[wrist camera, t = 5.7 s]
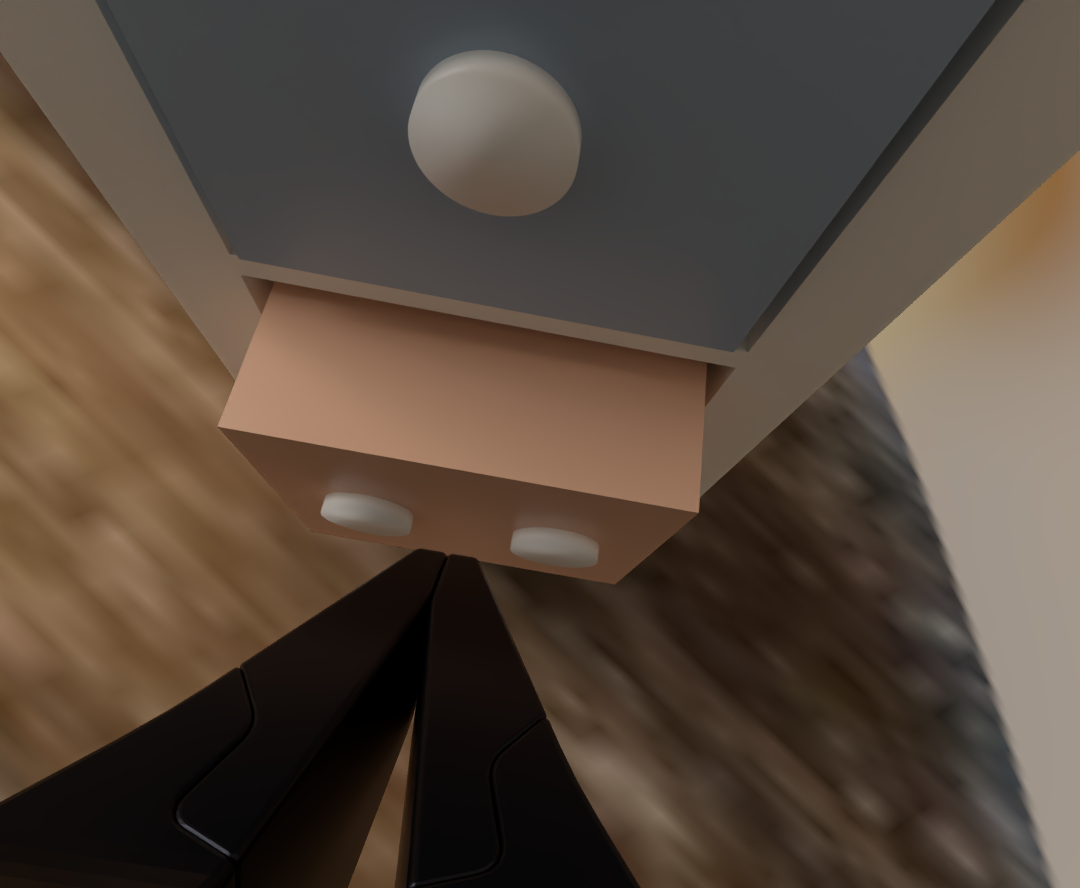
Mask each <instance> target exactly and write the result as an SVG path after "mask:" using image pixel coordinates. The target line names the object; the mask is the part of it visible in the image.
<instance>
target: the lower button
mask: <svg viewBox="0 0 1080 888" xmlns="http://www.w3.org/2000/svg"><path fill="white" fill-rule="evenodd" d="M706 374H707V362H702V361H697V360H692V359H686V358H681V357H676V356H670V355H665V354H660V353H654V352H649V351H644V350H638V349H633V348H628V347H623V346H617V345H612V344H607V343H601V342H596V341H591V340H585V339H580V338H575V337H569V336H564V335H559V334H553V333H548V332H543V331H537V330H532V329H527V328H521V327H516V326H511V325H505V324H500V323H495V322H490V321H484V320H479V319H474V318H468V317H463V316H458V315H452V314H447V313H442V312H436V311H431V310H426V309H420V308H415V307H410V306H404V305H399V304H394V303H388V302H383V301H378V300H372V299H367V298H362V297H356V296H351V295H346V294H341V293H335V292H330V291H325V290H319V289H314V288H309V287H303V286H298V285H293V284H287V283H282V282H277V281H275V282H274V284H273V287H272V289H271V292H270V295H269V297H268V300H267V302H266V305H265V307H264V310H263V312H262V315H261V317H260V320H259V323H258V325H257V328H256V330H255V333H254V335H253V338H252V340H251V343H250V345H249V348H248V351H247V353H246V356H245V358H244V361H243V363H242V366H241V368H240V371H239V374H238V376H237V379H236V381H235V384H234V386H233V389H232V391H231V394H230V396H229V399H228V402H227V404H226V407H225V409H224V412H223V414H222V417H221V419H220V422H219V424H218V428H219V429H220V430H221V431H222V432H223V433H224V434H225V435H226V437H227V438H228V439H229V440H230V441H231V442H232V443H233V444H234V445H235V447H236V448H237V449H238V450H239V451H240V452H241V453H242V454H243V455H244V457H245V458H246V459H247V460H248V461H249V462H250V463H251V464H252V466H253V467H254V468H255V469H256V470H257V471H258V472H259V473H260V474H261V476H262V477H263V478H264V479H265V480H266V481H267V482H268V483H269V484H270V486H271V487H272V488H273V489H274V490H275V491H276V492H277V493H278V494H279V496H280V497H281V498H282V499H283V500H284V501H285V502H286V503H287V505H288V506H289V507H290V508H291V509H292V510H293V511H294V512H295V513H296V515H297V516H298V517H299V518H300V519H301V520H302V521H303V522H304V523H305V525H306V526H307V527H308V528H309V529H310V530H311V531H312V532H316V533H322V534H328V535H334V536H339V537H345V538H351V539H357V540H362V541H368V542H374V543H379V544H385V545H391V546H397V547H402V548H408V549H414V550H416V549H418V548H423V549H429V550H434V551H440V552H444V553H445V554H446V555H448V556H449V555H450V554H457V555H463V556H469V557H474V558H476V559H478V561H483V562H488V563H494V564H500V565H506V566H511V567H517V568H523V569H528V570H534V571H540V572H546V573H551V574H557V575H563V576H569V577H574V578H580V579H586V580H591V581H597V582H603V583H609V584H614V585H615V584H616V583H617V582H618V581H619V580H621V579H622V578H623V577H624V576H625V575H627V574H628V573H629V572H630V571H631V570H632V569H634V568H635V567H636V566H637V565H638V564H639V563H641V562H642V561H643V560H644V559H645V558H647V557H648V556H649V555H650V554H651V553H652V552H654V551H655V550H656V549H657V548H658V547H659V546H661V545H662V544H663V543H664V542H665V541H667V540H668V539H669V538H670V537H671V536H672V535H674V534H675V533H676V532H677V531H678V530H679V529H681V528H682V527H683V526H684V525H685V524H687V523H688V522H689V521H690V520H691V519H692V518H694V517H695V516H696V515H697V514H698V513H699V502H700V483H701V465H702V447H703V428H704V410H705V392H706Z"/></svg>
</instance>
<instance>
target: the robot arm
mask: <svg viewBox="0 0 1080 888" xmlns="http://www.w3.org/2000/svg"><path fill="white" fill-rule="evenodd" d="M415 708H416V710H415ZM414 711H415V717H414V724H413V732H412V740H411V749H410V758H409V766H408V775H407V784H406V793H405V802H404V811H403V819H402V828H401V837H400V846H399V855H398V864H397V872H396V881H395V888H640V886H639V884H638V883H637V881H636V879H635V878H634V876H633V874H632V873H631V871H630V869H629V868H628V866H627V865H626V863H625V861H624V860H623V858H622V856H621V855H620V853H619V851H618V850H617V848H616V846H615V845H614V843H613V841H612V840H611V838H610V837H609V835H608V833H607V832H606V830H605V828H604V827H603V825H602V823H601V822H600V820H599V818H598V817H597V815H596V813H595V811H594V810H593V808H592V806H591V804H590V803H589V801H588V799H587V797H586V796H585V794H584V792H583V790H582V789H581V787H580V785H579V783H578V782H577V780H576V778H575V776H574V774H573V771H572V769H571V767H570V765H569V763H568V761H567V759H566V757H565V755H564V753H563V751H562V749H561V747H560V745H559V742H558V740H557V738H556V736H555V733H554V731H553V729H552V726H551V724H550V722H549V720H548V719H546V713H545V711H544V709H543V706H542V704H541V702H540V700H539V697H538V695H537V693H536V691H535V688H534V686H533V684H532V681H531V679H530V677H529V675H528V672H527V670H526V668H525V665H524V663H523V661H522V659H521V656H520V654H519V652H518V650H517V647H516V645H515V643H514V640H513V638H512V636H511V634H510V631H509V629H508V627H507V624H506V622H505V620H504V618H503V615H502V613H501V611H500V608H499V606H498V604H497V602H496V599H495V597H494V595H493V593H492V590H491V588H490V586H489V583H488V581H487V579H486V577H485V574H484V572H483V570H482V567H481V565H480V563H479V561H478V559H476V558H474V557H469V556H463V555H457V554H450V555H449V556H448V557H447V556H446V554H445V553H444V552H440V551H434V550H429V549H423V548H418V549H416V550H414V551H413V552H411V553H410V554H408V555H407V556H405V557H404V558H402V559H401V560H399V561H398V562H396V563H394V564H393V565H391V566H390V567H388V568H387V569H385V570H384V571H382V572H381V573H379V574H378V575H376V576H375V577H373V578H372V579H370V580H369V581H367V582H366V583H364V584H362V585H361V586H359V587H358V588H356V589H355V590H353V591H352V592H350V593H349V594H347V595H346V596H344V597H343V598H341V599H340V600H338V601H337V602H335V603H334V604H332V605H330V606H329V607H327V608H326V609H324V610H323V611H321V612H320V613H318V614H317V615H315V616H314V617H312V618H311V619H309V620H308V621H306V622H305V623H303V624H302V625H300V626H298V627H297V628H295V629H294V630H292V631H291V632H289V633H288V634H286V635H285V636H283V637H282V638H280V639H279V640H277V641H276V642H274V643H273V644H271V645H270V646H268V647H266V648H265V649H263V650H262V651H260V652H259V653H257V654H256V655H254V656H253V657H251V658H250V659H248V660H247V661H245V662H244V663H242V664H241V666H240V668H234V669H232V670H231V671H229V672H228V673H226V674H225V675H223V676H222V677H220V678H219V679H217V680H216V681H214V682H213V683H211V684H210V685H208V686H206V687H205V688H203V689H202V690H200V691H198V692H197V693H195V694H194V695H192V696H190V697H189V698H187V699H185V700H184V701H182V702H181V703H179V704H177V705H176V706H174V707H173V708H171V709H169V710H168V711H166V712H164V713H163V714H161V715H159V716H157V717H155V718H154V719H152V720H150V721H148V722H147V723H145V724H143V725H141V726H139V727H138V728H136V729H134V730H132V731H131V732H129V733H127V734H125V735H123V736H122V737H120V738H118V739H116V740H115V741H113V742H111V743H109V744H107V745H105V746H104V747H102V748H100V749H98V750H96V751H94V752H92V753H91V754H89V755H87V756H85V757H83V758H81V759H79V760H77V761H76V762H74V763H72V764H70V765H68V766H66V767H64V768H63V769H61V770H59V771H57V772H55V773H53V774H51V775H50V776H48V777H46V778H44V779H42V780H40V781H38V782H37V783H35V784H33V785H31V786H29V787H27V788H25V789H24V790H22V791H20V792H18V793H16V794H14V795H12V796H11V797H9V798H7V799H5V800H3V801H1V802H0V888H348V886H349V883H350V880H351V878H352V875H353V873H354V870H355V867H356V865H357V862H358V860H359V857H360V854H361V852H362V849H363V846H364V844H365V841H366V839H367V836H368V833H369V831H370V828H371V826H372V823H373V820H374V818H375V815H376V813H377V810H378V807H379V805H380V802H381V800H382V797H383V794H384V792H385V789H386V787H387V784H388V781H389V779H390V776H391V774H392V771H393V768H394V766H395V763H396V761H397V758H398V755H399V753H400V750H401V748H402V745H403V742H404V740H405V737H406V735H407V732H408V729H409V726H410V723H411V720H412V718H413V715H414Z"/></svg>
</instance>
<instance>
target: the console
mask: <svg viewBox="0 0 1080 888" xmlns="http://www.w3.org/2000/svg"><path fill="white" fill-rule="evenodd" d="M0 52H1V54H2V55H3V57H4V58H5V59H6V61H7V62H8V64H9V65H10V66H11V68H12V69H13V71H14V72H15V73H16V75H17V76H18V78H19V79H20V80H21V82H22V83H23V85H24V86H25V87H26V89H27V90H28V91H29V93H30V94H31V96H32V97H33V98H34V100H35V101H36V103H37V104H38V105H39V107H40V108H41V110H42V111H43V112H44V114H45V115H46V117H47V118H48V119H49V121H50V122H51V124H52V125H53V126H54V128H55V129H56V131H57V132H58V133H59V135H60V136H61V138H62V139H63V140H64V142H65V143H66V145H67V146H68V147H69V149H70V150H71V152H72V153H73V154H74V156H75V157H76V159H77V160H78V161H79V163H80V164H81V165H82V167H83V168H84V170H85V171H86V172H87V174H88V175H89V177H90V178H91V179H92V181H93V182H94V184H95V185H96V186H97V188H98V189H99V191H100V192H101V193H102V195H103V196H104V198H105V199H106V200H107V202H108V203H109V205H110V206H111V207H112V209H113V210H114V212H115V213H116V214H117V216H118V217H119V219H120V220H121V221H122V223H123V224H124V226H125V227H126V228H127V230H128V231H129V233H130V234H131V235H132V237H133V238H134V240H135V241H136V242H137V244H138V245H139V246H140V248H141V249H142V251H143V252H144V253H145V255H146V256H147V258H148V259H149V260H150V262H151V263H152V265H153V266H154V267H155V269H156V270H157V272H158V273H159V274H160V276H161V277H162V279H163V280H164V281H165V283H166V284H167V286H168V287H169V288H170V290H171V291H172V293H173V294H174V295H175V297H176V298H177V300H178V301H179V302H180V304H181V305H182V307H183V308H184V309H185V311H186V312H187V314H188V315H189V316H190V318H191V319H192V320H193V322H194V323H195V325H196V326H197V327H198V329H199V330H200V332H201V333H202V334H203V336H204V337H205V339H206V340H207V341H208V343H209V344H210V346H211V347H212V348H213V350H214V351H215V353H216V354H217V355H218V357H219V358H220V360H221V361H222V362H223V364H224V365H225V367H226V368H227V369H228V371H229V372H230V374H231V375H232V376H233V378H234V379H235V381H236V379H237V376H238V374H239V371H240V368H241V366H242V363H243V361H244V358H245V356H246V353H247V351H248V348H249V345H250V343H251V340H252V338H253V335H254V333H255V330H256V328H257V325H258V323H259V320H260V317H261V315H262V312H263V310H264V307H265V305H266V302H267V300H268V297H269V295H270V292H271V289H272V287H273V284H274V282H275V281H277V282H282V283H287V284H293V285H298V286H303V287H309V288H314V289H319V290H325V291H330V292H335V293H341V294H346V295H351V296H356V297H362V298H367V299H372V300H378V301H383V302H388V303H394V304H399V305H404V306H410V307H415V308H420V309H426V310H431V311H436V312H442V313H447V314H452V315H458V316H463V317H468V318H474V319H479V320H484V321H490V322H495V323H500V324H505V325H511V326H516V327H521V328H527V329H532V330H537V331H543V332H548V333H553V334H559V335H564V336H569V337H575V338H580V339H585V340H591V341H596V342H601V343H607V344H612V345H617V346H623V347H628V348H633V349H638V350H644V351H649V352H654V353H660V354H665V355H670V356H676V357H681V358H686V359H692V360H697V361H702V362H707V374H706V392H705V410H704V428H703V447H702V465H701V483H700V497H701V496H702V495H703V494H704V493H705V492H706V491H707V490H708V489H709V488H711V487H712V486H713V485H714V484H715V483H716V482H717V481H718V480H719V479H720V478H721V477H723V476H724V475H725V474H726V473H727V472H728V471H729V470H730V469H731V468H732V467H734V466H735V465H736V464H737V463H738V462H739V461H740V460H741V459H742V458H743V457H744V456H746V455H747V454H748V453H749V452H750V451H751V450H752V449H753V448H754V447H755V446H756V445H758V444H759V443H760V442H761V441H762V440H763V439H764V438H765V437H766V436H767V435H768V434H770V433H771V432H772V431H773V430H774V429H775V428H776V427H777V426H778V425H779V424H781V423H782V422H783V421H784V420H785V419H786V418H787V417H788V416H789V415H790V414H791V413H793V412H794V411H795V410H796V409H797V408H798V407H799V406H800V405H801V404H802V403H803V402H805V401H806V400H807V399H808V398H809V397H810V396H811V395H812V394H813V393H814V392H816V391H817V390H818V389H819V388H820V387H821V386H822V385H823V384H824V383H825V382H826V381H828V380H829V379H830V378H831V377H832V376H833V375H834V374H835V373H836V372H837V371H838V370H840V369H841V368H842V367H843V366H844V365H845V364H846V363H847V362H848V361H849V360H851V359H852V358H853V357H854V356H855V355H856V354H857V353H858V352H859V351H860V350H861V349H863V348H864V347H865V346H866V345H867V344H868V343H869V342H870V341H871V340H872V339H873V338H875V337H876V336H877V335H878V334H879V333H880V332H881V331H882V330H883V329H884V328H885V327H886V326H888V325H889V324H890V323H891V322H892V321H893V320H894V319H895V318H896V317H898V316H899V315H900V314H901V313H902V312H903V311H904V310H905V309H906V308H907V307H908V306H910V305H911V304H912V303H913V302H914V301H915V300H916V299H917V298H918V297H919V296H920V295H922V294H923V293H924V292H925V291H926V290H927V289H928V288H929V287H930V286H931V285H932V284H934V283H935V282H936V281H937V280H938V279H939V278H940V277H941V276H942V275H943V274H945V272H947V271H948V270H949V269H950V268H951V267H952V266H953V265H954V264H955V263H957V261H959V260H960V259H961V258H962V257H963V256H964V255H965V254H966V253H967V252H969V251H970V250H971V249H972V248H973V247H974V246H975V245H976V244H977V243H978V242H979V241H981V240H982V239H983V238H984V237H985V236H986V235H987V234H988V233H989V232H990V231H992V230H993V229H994V228H995V227H996V226H997V225H998V224H999V223H1000V222H1001V221H1002V220H1003V219H1005V218H1006V217H1007V216H1008V215H1009V214H1010V213H1011V212H1012V211H1013V210H1014V209H1015V208H1017V207H1018V206H1019V205H1020V204H1021V203H1022V202H1023V201H1024V200H1025V199H1026V198H1028V197H1029V196H1030V195H1031V194H1032V193H1033V192H1034V191H1035V190H1036V189H1037V188H1039V187H1040V186H1041V185H1042V183H1044V182H1045V181H1046V180H1047V179H1048V178H1049V177H1050V176H1052V175H1053V174H1054V173H1055V172H1056V171H1057V170H1058V169H1059V168H1060V167H1061V166H1063V164H1065V163H1066V162H1067V161H1068V160H1069V159H1070V158H1071V157H1072V156H1074V154H1076V153H1077V152H1078V151H1079V150H1080V0H995V2H994V3H993V4H992V6H991V7H990V8H989V10H988V11H987V12H986V14H985V15H984V16H983V18H982V19H981V21H980V22H979V23H978V25H977V26H976V27H975V29H974V30H973V31H972V33H971V34H970V35H969V37H968V38H967V39H966V41H965V42H964V43H963V45H962V46H961V47H960V49H959V50H958V51H957V53H956V54H955V56H954V57H953V58H952V60H951V61H950V62H949V64H948V65H947V66H946V68H945V69H944V70H943V72H942V73H941V74H940V76H939V77H938V78H937V80H936V81H935V82H934V84H933V85H932V86H931V88H930V89H929V90H928V92H927V93H926V95H925V96H924V97H923V99H922V100H921V101H920V103H919V104H918V105H917V107H916V108H915V109H914V111H913V112H912V113H911V115H910V116H909V117H908V119H907V120H906V121H905V123H904V124H903V125H902V127H901V128H900V130H899V131H898V132H897V134H896V135H895V136H894V138H893V139H892V140H891V142H890V143H889V144H888V146H887V147H886V148H885V150H884V151H883V152H882V154H881V155H880V156H879V158H878V159H877V160H876V162H875V163H874V165H873V166H872V167H871V169H870V170H869V171H868V173H867V174H866V175H865V177H864V178H863V179H862V181H861V182H860V183H859V185H858V186H857V187H856V189H855V190H854V191H853V193H852V194H851V195H850V197H849V198H848V199H847V201H846V202H845V204H844V205H843V206H842V208H841V209H840V210H839V212H838V213H837V214H836V216H835V217H834V218H833V220H832V221H831V222H830V224H829V225H828V226H827V228H826V229H825V230H824V232H823V233H822V234H821V236H820V237H819V239H818V240H817V241H816V243H815V244H814V245H813V247H812V248H811V249H810V251H809V252H808V253H807V255H806V256H805V257H804V259H803V260H802V261H801V263H800V264H799V265H798V267H797V268H796V269H795V271H794V272H793V273H792V275H791V276H790V278H789V279H788V280H787V282H786V283H785V284H784V286H783V287H782V288H781V290H780V291H779V292H778V294H777V295H776V296H775V298H774V299H773V300H772V302H771V303H770V304H769V306H768V307H767V308H766V310H765V311H764V313H763V314H762V315H761V317H760V318H759V319H758V321H757V322H756V323H755V325H754V326H753V327H752V329H751V330H750V331H749V333H748V334H747V335H746V337H745V338H744V339H743V341H742V342H741V343H740V345H739V346H738V347H737V349H736V350H735V352H729V351H723V350H718V349H713V348H707V347H702V346H697V345H692V344H686V343H681V342H676V341H670V340H665V339H660V338H654V337H649V336H644V335H639V334H633V333H628V332H623V331H617V330H612V329H607V328H602V327H596V326H591V325H586V324H580V323H575V322H570V321H564V320H559V319H554V318H549V317H543V316H538V315H533V314H527V313H522V312H517V311H511V310H506V309H501V308H496V307H490V306H485V305H480V304H474V303H469V302H464V301H459V300H453V299H448V298H443V297H437V296H432V295H427V294H421V293H416V292H411V291H406V290H400V289H395V288H390V287H384V286H379V285H374V284H368V283H363V282H358V281H353V280H347V279H342V278H337V277H331V276H326V275H321V274H316V273H310V272H305V271H300V270H294V269H289V268H284V267H278V266H273V265H268V264H263V263H257V262H252V261H247V260H241V259H239V258H238V256H237V254H236V253H235V251H234V249H233V247H232V245H231V243H230V241H229V239H228V237H227V235H226V233H225V231H224V229H223V227H222V225H221V223H220V221H219V219H218V218H217V216H216V214H215V212H214V210H213V208H212V206H211V204H210V202H209V200H208V198H207V196H206V194H205V192H204V190H203V188H202V186H201V185H200V183H199V181H198V179H197V177H196V175H195V173H194V171H193V169H192V167H191V165H190V163H189V161H188V159H187V157H186V155H185V153H184V151H183V150H182V148H181V146H180V144H179V142H178V140H177V138H176V136H175V134H174V132H173V130H172V128H171V126H170V124H169V122H168V120H167V118H166V117H165V115H164V113H163V111H162V109H161V107H160V105H159V103H158V101H157V99H156V97H155V95H154V93H153V91H152V89H151V87H150V85H149V84H148V82H147V80H146V78H145V76H144V74H143V72H142V70H141V68H140V66H139V64H138V62H137V60H136V58H135V56H134V54H133V52H132V50H131V49H130V47H129V45H128V43H127V41H126V39H125V37H124V35H123V33H122V31H121V29H120V27H119V25H118V23H117V21H116V19H115V17H114V16H113V14H112V12H111V10H110V8H109V6H108V4H107V2H106V0H0Z"/></svg>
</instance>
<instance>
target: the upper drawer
mask: <svg viewBox="0 0 1080 888" xmlns="http://www.w3.org/2000/svg"><path fill="white" fill-rule="evenodd" d="M106 2H107V4H108V6H109V8H110V10H111V12H112V14H113V16H114V17H115V19H116V21H117V23H118V25H119V27H120V29H121V31H122V33H123V35H124V37H125V39H126V41H127V43H128V45H129V47H130V49H131V50H132V52H133V54H134V56H135V58H136V60H137V62H138V64H139V66H140V68H141V70H142V72H143V74H144V76H145V78H146V80H147V82H148V84H149V85H150V87H151V89H152V91H153V93H154V95H155V97H156V99H157V101H158V103H159V105H160V107H161V109H162V111H163V113H164V115H165V117H166V118H167V120H168V122H169V124H170V126H171V128H172V130H173V132H174V134H175V136H176V138H177V140H178V142H179V144H180V146H181V148H182V150H183V151H184V153H185V155H186V157H187V159H188V161H189V163H190V165H191V167H192V169H193V171H194V173H195V175H196V177H197V179H198V181H199V183H200V185H201V186H202V188H203V190H204V192H205V194H206V196H207V198H208V200H209V202H210V204H211V206H212V208H213V210H214V212H215V214H216V216H217V218H218V219H219V221H220V223H221V225H222V227H223V229H224V231H225V233H226V235H227V237H228V239H229V241H230V243H231V245H232V247H233V249H234V251H235V253H236V254H237V256H238V258H239V259H241V260H247V261H252V262H257V263H263V264H268V265H273V266H278V267H284V268H289V269H294V270H300V271H305V272H310V273H316V274H321V275H326V276H331V277H337V278H342V279H347V280H353V281H358V282H363V283H368V284H374V285H379V286H384V287H390V288H395V289H400V290H406V291H411V292H416V293H421V294H427V295H432V296H437V297H443V298H448V299H453V300H459V301H464V302H469V303H474V304H480V305H485V306H490V307H496V308H501V309H506V310H511V311H517V312H522V313H527V314H533V315H538V316H543V317H549V318H554V319H559V320H564V321H570V322H575V323H580V324H586V325H591V326H596V327H602V328H607V329H612V330H617V331H623V332H628V333H633V334H639V335H644V336H649V337H654V338H660V339H665V340H670V341H676V342H681V343H686V344H692V345H697V346H702V347H707V348H713V349H718V350H723V351H729V352H735V350H736V349H737V347H738V346H739V345H740V343H741V342H742V341H743V339H744V338H745V337H746V335H747V334H748V333H749V331H750V330H751V329H752V327H753V326H754V325H755V323H756V322H757V321H758V319H759V318H760V317H761V315H762V314H763V313H764V311H765V310H766V308H767V307H768V306H769V304H770V303H771V302H772V300H773V299H774V298H775V296H776V295H777V294H778V292H779V291H780V290H781V288H782V287H783V286H784V284H785V283H786V282H787V280H788V279H789V278H790V276H791V275H792V273H793V272H794V271H795V269H796V268H797V267H798V265H799V264H800V263H801V261H802V260H803V259H804V257H805V256H806V255H807V253H808V252H809V251H810V249H811V248H812V247H813V245H814V244H815V243H816V241H817V240H818V239H819V237H820V236H821V234H822V233H823V232H824V230H825V229H826V228H827V226H828V225H829V224H830V222H831V221H832V220H833V218H834V217H835V216H836V214H837V213H838V212H839V210H840V209H841V208H842V206H843V205H844V204H845V202H846V201H847V199H848V198H849V197H850V195H851V194H852V193H853V191H854V190H855V189H856V187H857V186H858V185H859V183H860V182H861V181H862V179H863V178H864V177H865V175H866V174H867V173H868V171H869V170H870V169H871V167H872V166H873V165H874V163H875V162H876V160H877V159H878V158H879V156H880V155H881V154H882V152H883V151H884V150H885V148H886V147H887V146H888V144H889V143H890V142H891V140H892V139H893V138H894V136H895V135H896V134H897V132H898V131H899V130H900V128H901V127H902V125H903V124H904V123H905V121H906V120H907V119H908V117H909V116H910V115H911V113H912V112H913V111H914V109H915V108H916V107H917V105H918V104H919V103H920V101H921V100H922V99H923V97H924V96H925V95H926V93H927V92H928V90H929V89H930V88H931V86H932V85H933V84H934V82H935V81H936V80H937V78H938V77H939V76H940V74H941V73H942V72H943V70H944V69H945V68H946V66H947V65H948V64H949V62H950V61H951V60H952V58H953V57H954V56H955V54H956V53H957V51H958V50H959V49H960V47H961V46H962V45H963V43H964V42H965V41H966V39H967V38H968V37H969V35H970V34H971V33H972V31H973V30H974V29H975V27H976V26H977V25H978V23H979V22H980V21H981V19H982V18H983V16H984V15H985V14H986V12H987V11H988V10H989V8H990V7H991V6H992V4H993V3H994V2H995V0H106Z"/></svg>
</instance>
